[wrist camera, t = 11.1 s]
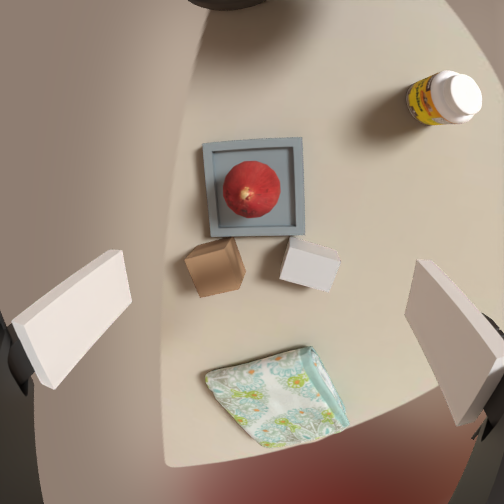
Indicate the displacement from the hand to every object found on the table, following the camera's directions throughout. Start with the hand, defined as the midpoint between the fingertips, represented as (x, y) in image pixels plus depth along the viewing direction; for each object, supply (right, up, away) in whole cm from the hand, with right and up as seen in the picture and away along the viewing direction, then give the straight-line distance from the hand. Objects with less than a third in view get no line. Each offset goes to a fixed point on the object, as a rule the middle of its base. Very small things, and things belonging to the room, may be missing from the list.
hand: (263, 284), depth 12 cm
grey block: (+7, +1, +24) cm, 25 cm away
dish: (0, +9, +22) cm, 23 cm away
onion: (0, +9, +21) cm, 23 cm away
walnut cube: (-4, +1, +26) cm, 26 cm away
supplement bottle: (+20, +19, +15) cm, 32 cm away
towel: (+5, -23, +34) cm, 41 cm away
